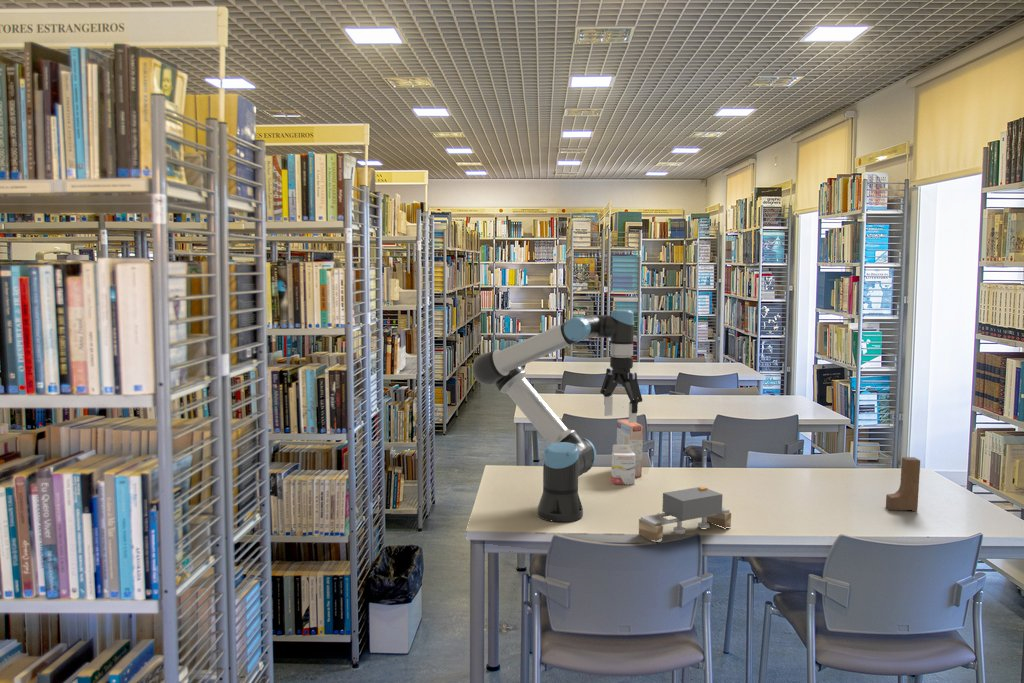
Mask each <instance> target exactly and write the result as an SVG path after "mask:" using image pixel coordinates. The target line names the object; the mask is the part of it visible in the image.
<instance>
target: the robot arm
mask: <svg viewBox="0 0 1024 683" xmlns="http://www.w3.org/2000/svg"><path fill="white" fill-rule="evenodd" d="M610 312H611V313H610V314H609V315H601V314H587V313H586V314H580V315H579V314H578V316H574V317H571V318H569V319H568V320H566V321H565V322H563V323H560V324H558V325H556V326H554V327H552V328H549V329H546V330H545V331H543V332H540V333H538V334H535V335H533V336H531V337H529V338H527V339H525V340H524V339H523V340H522V341H520V342H517V343H515V344H512V345H510V346H508V347H505V348H504V349H502V348H501V349H494V350H492V351H488V352H483V353H481V354H479V355H478V356H477V357H475V359H474V361H473V363H472V368H471V370H472V375H473V377H474V378H475V380H476V381H477V382H478V383H479V384H481V385H482V386H483V385H485V386H495V387H496V389H497V390H498V391H499V392H500V393H501V394H507V395H508V396H509V398H510V399H511V400H512V401H513V402H514V404H515V405H516V406H517V407H518V408H519V410H520V411H521V412H522V413H523V414H524V416H525V417H526V418H527V419H528V421H529V422H530V423H531V424H532V426H533V427H534V428H535V429H536V430H537V432H538V433H539V434H540V435H541V436H542V437H543V439H544V440H545V441H546V443H548V445H547V446H546V447H545V448H544V450H543V455H542V466H543V467H542V468H543V470H542V480H543V481H542V485H543V486H542V494H541V497H540V499H539V503H538V505H537V513H536V514H537V516H538V517H539V518H540V517H541V518H540V519H542V518H543V520H544V519H547V520H546V521H548V520H552V521H551V522H554V521H562V522H561V523H565V522H564V521H571V522H574V521H575V520H576V521H579V520H581V519H582V518H583V516H584V510H583V505H582V502H581V499H580V496H579V477H580V476H581V475H583V474H586V473H588V472H589V471H590V470H591V469H592V467H594V465H595V463H596V461H597V451H596V447H595V446H594V444H593V443H592V441H590V440H589V439H587V438H584V437H581V436H580V435H579V433H578V432H577V431H576V430H575V429H569V428H568V427H567V426H566V425H565V423H564V422H563V421H562V419H561V418H559V416H558V415H557V414H556V412H554V411H553V409H552V408H551V407H550V406H549V404H548V403H547V402H546V401H545V400H544V399H543V397H542V395H540V394H539V392H538V391H537V390H536V389H535V388H534V387H533V385H532V384H531V383H530V382H529V380H528V379H527V378H526V376H527V371H526V370H525V369H524V368H523V366H525V365H527V364H529V363H532V362H534V361H536V360H539V359H541V358H544V357H545V356H549V355H550V354H552V353H555V352H558V351H559V350H560V351H561V350H562V349H564V348H567V347H570V346H571V345H574V344H577V343H578V342H581V341H584V340H587V339H594V338H605V339H607V338H609V339H610V347H609V348H610V350H609V351H610V353H609V354H610V358H609V360H610V362H609V368H606V372H605V377H604V380H603V382H602V386H601V388H600V391H599V392H600V394H601V395H603V398H604V400H603V401H604V402H603V404H604V416H605V417H608V416H609V417H610V416H613V400H614V398H613V397H614V396H613V393H614V391H615V390H616V387H617V386H618V385H621V386H622V387H623V388H624V390H625V392H626V395H627V396H628V399H629V403H628V419H629V423H638V422H637V421H638V419H637V418H638V415H637V414H638V411H639V410H638V409H639V408H638V405H639V403H643V397H642V394H641V389H640V385H639V382H638V375H637V372H631V369H633V367H634V358H633V355H634V331H635V317H634V311H632V310H631V309H613V310H611V311H610ZM580 518H581V519H580ZM576 521H575V522H576Z"/></svg>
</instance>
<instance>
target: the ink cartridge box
mask: <svg viewBox="0 0 1024 683" xmlns="http://www.w3.org/2000/svg"><path fill="white" fill-rule="evenodd" d="M620 447H626V448H627V449H619V448H620ZM635 461H636V455H635V454H634V453H633V445H620V444H619V445H617V444H612V452H611V472H610V482H611V483H612V485H613V484H614V485H615V484H622V485H621V486H623V485H624V484H625V485H624V486H626V484H627V486H628V485H629V484H635V485H636V483H635V482H636V481H635V480H636V477H635ZM629 486H630V485H629Z"/></svg>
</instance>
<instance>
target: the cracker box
mask: <svg viewBox="0 0 1024 683" xmlns="http://www.w3.org/2000/svg"><path fill="white" fill-rule="evenodd" d="M616 424H617V427H616V445H619V444H620V445H633V453H634V454H635V455H636V461H635V478H640V477H641V478H642V472H643V471H642V469H643V441H644V440H643V439H644V435H643V434H644V425H642V424H641V423H638V422H636V423H629V418H628V419H627V418H626V419H624V418H623V419H617V422H616ZM619 449H627V448H626V447H620V448H619Z"/></svg>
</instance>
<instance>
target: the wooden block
mask: <svg viewBox="0 0 1024 683" xmlns="http://www.w3.org/2000/svg"><path fill="white" fill-rule="evenodd" d="M900 467H901V468H900V473H901V474H900V484H899V487H898V489H897V491H895V492H894V493H887V494H886V495H885V496H886V498H885V507H886V508H887V509H888V508H889V509H888V510H890V511H894V510H905V511H904V512H907V511H906V510H912V511H911V512H917V511H918V507H919V506H918V504H919V490H920V488H919V487H920V474H921V473H920V472H921V459H918V458H916V457H913V456H912V457H911V456H908V457H907V456H902V457H901V466H900Z"/></svg>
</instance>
